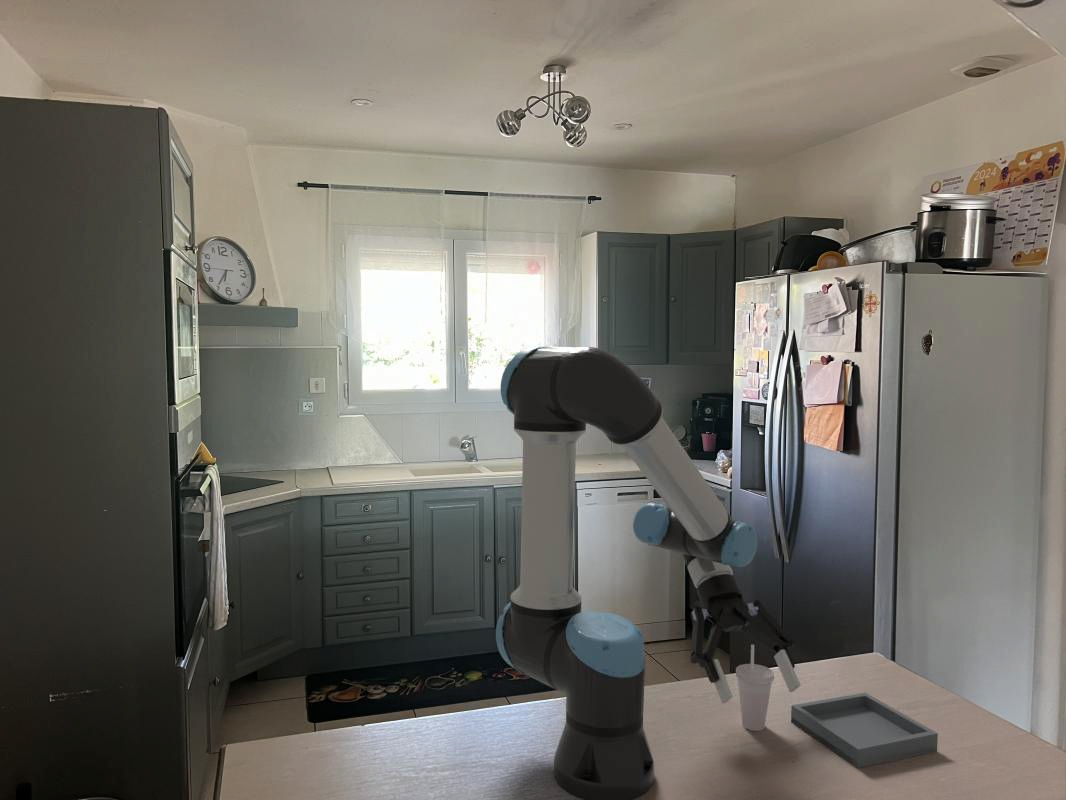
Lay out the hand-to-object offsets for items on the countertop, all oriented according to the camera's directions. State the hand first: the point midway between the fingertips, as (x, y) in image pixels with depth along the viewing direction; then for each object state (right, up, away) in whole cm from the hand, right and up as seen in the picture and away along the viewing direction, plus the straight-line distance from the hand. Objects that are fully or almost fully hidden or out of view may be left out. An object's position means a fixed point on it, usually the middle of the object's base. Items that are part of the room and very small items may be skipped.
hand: (762, 694), depth 134 cm
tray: (+16, -7, -1) cm, 18 cm away
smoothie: (-1, -6, +2) cm, 7 cm away
